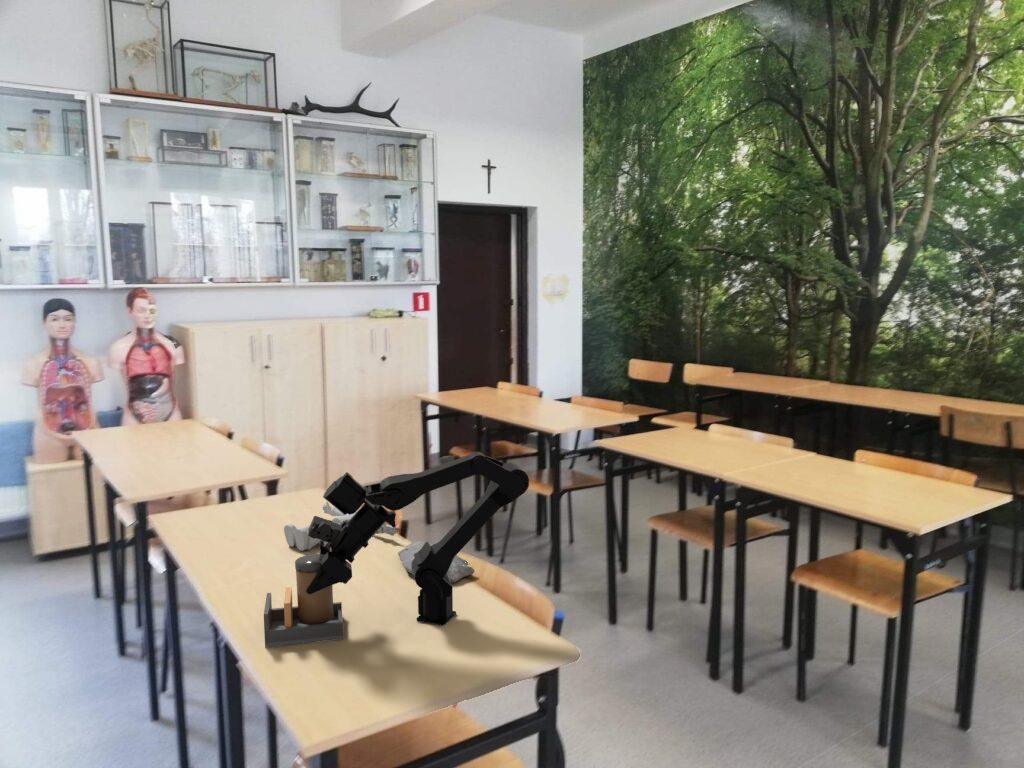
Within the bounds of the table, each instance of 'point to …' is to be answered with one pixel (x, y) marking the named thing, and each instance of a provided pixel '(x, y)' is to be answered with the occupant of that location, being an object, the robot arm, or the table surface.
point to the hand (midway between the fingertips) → (307, 585)
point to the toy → (306, 543)
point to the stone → (455, 567)
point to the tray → (299, 627)
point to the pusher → (288, 607)
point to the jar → (316, 604)
